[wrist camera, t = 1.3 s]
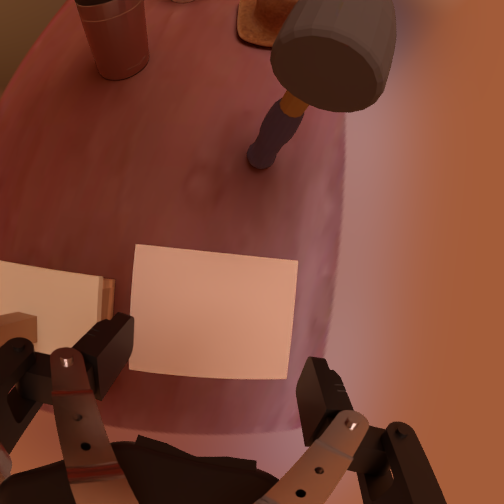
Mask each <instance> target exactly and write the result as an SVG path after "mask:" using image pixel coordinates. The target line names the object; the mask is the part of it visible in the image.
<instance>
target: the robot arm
mask: <svg viewBox="0 0 504 504" xmlns="http://www.w3.org/2000/svg"><path fill="white" fill-rule="evenodd" d="M75 3H76V6H77V10H78V13H79V16H80V19H81V22H82V25H83V28H84V31H85V34H86V37H87V40H88V43H89V46H90V48H91V51H92V54H93V57H94V60H95V63H96V65H97V68H98V71H99V73H100V75H101V76H102V77H104V78H106V79H109V80H120V79H125V78H128V77H130V76H132V75H135V74H136V73H138V72H139V71H140V70H142V69H143V68H144V67H145V65H146V64H147V62H148V60H149V49H148V39H147V30H146V20H145V9H144V0H75ZM133 344H134V317H133V316H130V315H127V314H123V313H120V312H118V313H117V314H116V315H115V316H114V317H113V318H112V319H111V320H108V319H104V320H102V321H99V322H97V323H96V324H95V325H94V326H93V327H92V328H91V329H90V330H89V331H88V332H87V334H85V335H84V336H83V337H82V338H81V339H80V340H79V341H78V342H77V343H76V344H75V345H74V346H73V347H72V348H69V347H62V348H58V349H56V350H54V351H53V352H52V353H51V355H50V354H45V353H40V352H36V351H35V350H34V345H33V343H32V342H31V341H30V340H28V339H26V338H23V337H16V338H12V339H10V340H8V341H7V342H6V343H5V344H4V345H2V346H1V347H0V504H324V503H325V502H326V500H327V499H328V497H329V496H330V495H331V493H332V492H333V490H334V489H335V487H336V486H337V484H338V483H339V481H340V480H341V478H342V477H343V475H344V473H345V472H346V470H350V471H354V472H357V476H358V481H359V485H360V490H361V494H362V499H363V504H447V503H446V501H445V499H444V496H443V494H442V491H441V489H440V486H439V484H438V482H437V479H436V477H435V475H434V473H433V470H432V468H431V466H430V463H429V461H428V459H427V457H426V455H425V452H424V450H423V448H422V446H421V444H420V442H419V440H418V438H417V436H416V434H415V431H414V430H413V429H412V428H411V427H410V426H409V425H407V424H405V423H403V422H393V423H390V424H389V425H388V427H387V428H386V429H381V428H377V427H373V426H369V422H368V420H367V419H366V418H365V417H364V416H363V415H362V414H360V413H359V412H356V411H354V410H353V407H352V405H351V402H350V399H349V397H348V395H347V393H346V390H345V387H344V386H343V382H342V380H341V377H340V376H339V375H338V374H337V373H336V372H335V371H334V370H330V369H329V367H328V364H327V361H326V359H324V358H317V357H308V359H307V361H306V363H305V366H304V368H303V370H302V373H301V375H300V378H299V380H298V383H297V387H296V397H297V403H298V409H299V414H300V420H301V426H302V432H303V437H304V444H305V446H307V447H309V448H308V450H307V451H306V452H305V453H304V454H303V455H302V457H301V458H300V459H299V460H298V461H297V462H296V463H295V464H294V465H293V467H292V468H291V469H290V470H289V471H288V472H287V473H286V474H285V475H284V476H283V477H282V478H281V479H280V480H279V479H277V478H276V477H274V476H273V475H271V474H269V473H267V472H264V471H262V470H259V469H256V461H255V460H247V459H239V458H233V457H196V456H193V455H190V454H188V453H186V452H184V451H181V450H179V449H177V448H175V447H173V446H171V445H169V444H167V443H164V442H160V441H157V440H153V439H150V438H147V437H144V436H140V435H138V437H137V440H136V442H129V441H121V442H112V443H110V442H109V439H108V436H107V434H106V431H105V428H104V425H103V422H102V419H101V416H100V413H99V410H98V407H97V403H96V400H95V399H98V400H100V401H102V399H103V398H104V396H105V395H106V393H107V392H108V390H109V388H110V387H111V385H112V384H113V382H114V381H115V379H116V378H117V376H118V375H119V373H120V372H121V370H122V368H123V367H124V365H125V364H126V362H127V361H128V359H129V358H130V356H131V354H132V351H133ZM14 385H15V387H14V388H13V389H12V390H11V388H12V387H13V386H14ZM10 390H11V392H10V393H9V391H10ZM8 393H9V394H8ZM43 403H46V404H50V405H53V408H54V415H55V420H56V426H57V431H58V436H59V441H60V445H61V450H62V454H63V458H64V460H61V461H58V462H55V463H52V464H49V465H45V466H42V467H39V468H35V469H31V470H28V471H24V472H20V473H17V474H13V475H11V476H10V471H11V468H12V461H11V458H10V456H9V454H10V453H11V451H12V450H13V448H14V446H15V445H16V443H17V442H18V440H19V438H20V437H21V435H22V434H23V432H24V431H25V429H26V428H27V426H28V425H29V423H30V422H31V420H32V419H33V418H34V416H35V415H36V413H37V412H38V410H39V409H40V407H41V406H42V405H43ZM390 469H391V470H392V473H393V477H394V480H393V478H392V474H391V471H390Z"/></svg>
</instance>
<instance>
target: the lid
mask: <svg viewBox="0 0 504 504" xmlns="http://www.w3.org/2000/svg"><path fill="white" fill-rule="evenodd" d="M102 289H103V276H95V275H88V274H81V273H74V272H67V271H61V270H54V269H48V268H42V267H36V266H30V265H24V264H18V263H13V262H7V261H2V260H0V347H1V346H2V345H4V344H5V343H6V342H7V341H8V340H10V339H12V338H16V337H23V338H26V339H28V340H30V341H31V342H32V343H33V345H34V350H35V351H36V352H40V353H45V354H50V355H51V353H52V352H53V351H54V350H56V349H58V348H62V347H69V348H72V347H73V346H74V345H75V344H76V343H77V342H78V341H79V340H80V339H81V338H82V337H83V336H84V335H85V334H87V332H88V331H89V330H90V329H91V328H92V327H93V326H94V325H95V324H96V323H97V322H99V321H101V307H102Z"/></svg>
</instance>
